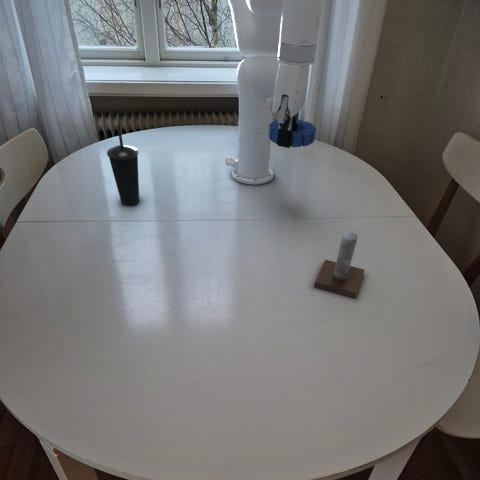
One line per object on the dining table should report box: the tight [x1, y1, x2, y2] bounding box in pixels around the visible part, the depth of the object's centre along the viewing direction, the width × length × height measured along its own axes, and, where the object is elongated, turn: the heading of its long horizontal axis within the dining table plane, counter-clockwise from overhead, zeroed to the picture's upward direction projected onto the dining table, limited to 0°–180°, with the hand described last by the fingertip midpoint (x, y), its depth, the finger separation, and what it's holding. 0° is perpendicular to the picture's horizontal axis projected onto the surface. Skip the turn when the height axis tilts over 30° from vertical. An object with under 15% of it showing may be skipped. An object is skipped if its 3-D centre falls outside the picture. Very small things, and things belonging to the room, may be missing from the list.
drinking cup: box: [106, 124, 140, 207], centre depth 110 cm, size 8×8×20 cm
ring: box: [268, 119, 317, 148], centre depth 102 cm, size 11×11×3 cm
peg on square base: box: [313, 231, 365, 299], centre depth 91 cm, size 9×9×12 cm
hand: (286, 142), depth 100 cm, fingers closed on ring, 3 cm apart
